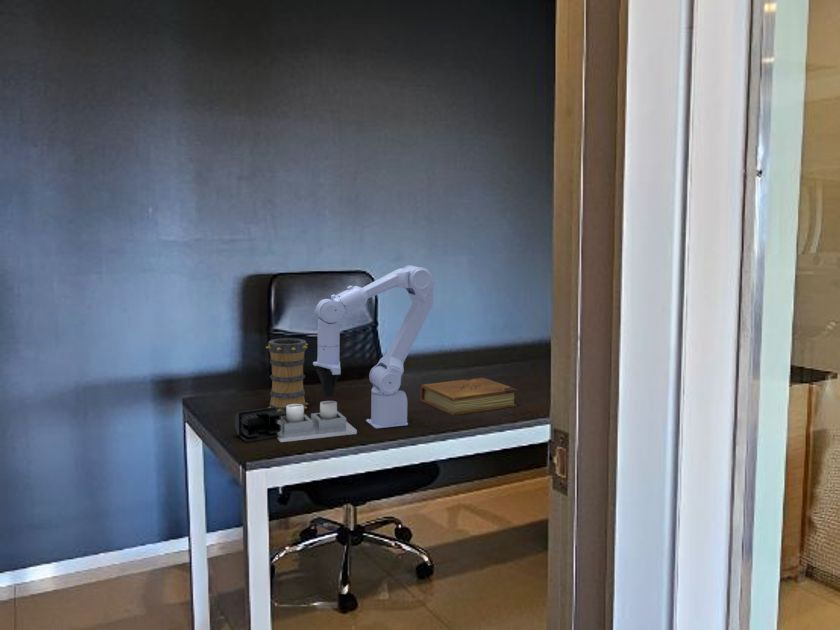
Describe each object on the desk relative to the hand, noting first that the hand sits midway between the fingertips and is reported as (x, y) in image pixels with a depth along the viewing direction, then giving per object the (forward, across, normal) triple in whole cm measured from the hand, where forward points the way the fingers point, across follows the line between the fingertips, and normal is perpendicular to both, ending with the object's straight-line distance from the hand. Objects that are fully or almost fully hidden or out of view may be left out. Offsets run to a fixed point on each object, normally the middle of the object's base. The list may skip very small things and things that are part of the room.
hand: (328, 396), depth 194 cm
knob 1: (+6, 0, -9) cm, 11 cm away
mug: (+9, -25, -5) cm, 27 cm away
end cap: (+9, 0, -18) cm, 21 cm away
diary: (+9, -11, +48) cm, 50 cm away
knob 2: (+6, 0, 0) cm, 6 cm away
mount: (+9, 0, -4) cm, 10 cm away
